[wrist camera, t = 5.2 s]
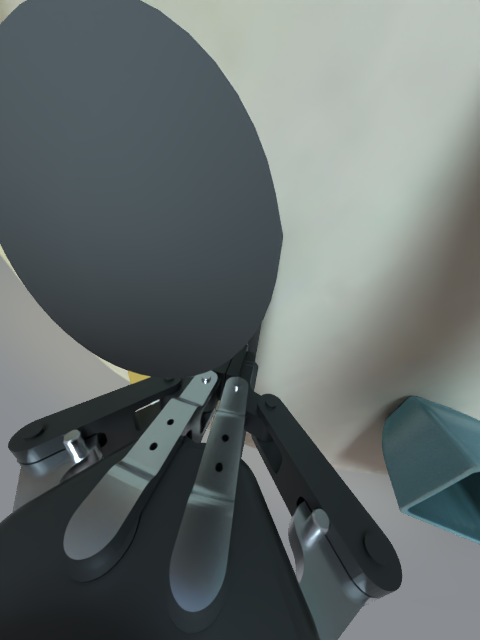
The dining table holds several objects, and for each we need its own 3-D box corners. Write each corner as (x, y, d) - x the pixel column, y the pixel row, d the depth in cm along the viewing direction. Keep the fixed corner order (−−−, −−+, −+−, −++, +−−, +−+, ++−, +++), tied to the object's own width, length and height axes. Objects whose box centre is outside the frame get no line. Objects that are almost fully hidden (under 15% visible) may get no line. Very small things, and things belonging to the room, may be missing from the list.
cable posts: (285, 225, 17) (337, -48, 1) (256, 375, 25) (208, 628, 9) (259, 222, 17) (-107, 4, 1) (239, 371, 25) (164, 608, 9)
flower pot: (360, 422, 24) (397, 513, 16) (403, 376, 20) (480, 466, 12) (427, 446, 24) (500, 554, 16) (485, 403, 20) (624, 518, 12)
